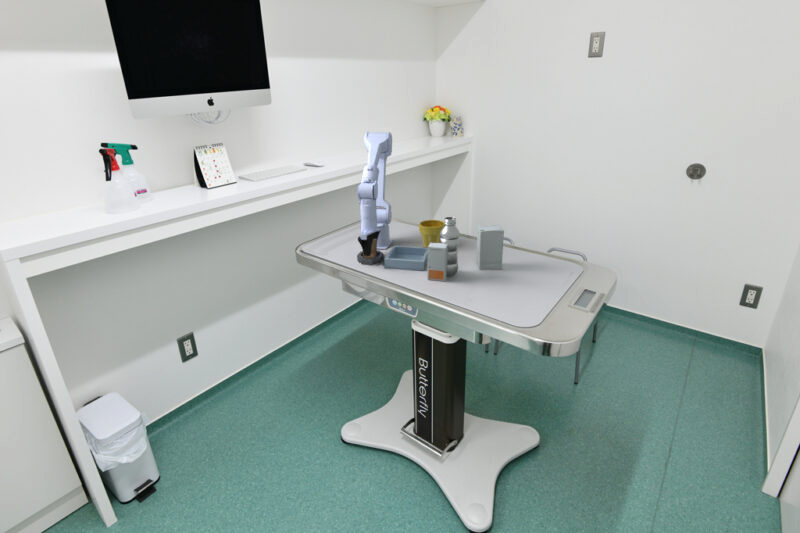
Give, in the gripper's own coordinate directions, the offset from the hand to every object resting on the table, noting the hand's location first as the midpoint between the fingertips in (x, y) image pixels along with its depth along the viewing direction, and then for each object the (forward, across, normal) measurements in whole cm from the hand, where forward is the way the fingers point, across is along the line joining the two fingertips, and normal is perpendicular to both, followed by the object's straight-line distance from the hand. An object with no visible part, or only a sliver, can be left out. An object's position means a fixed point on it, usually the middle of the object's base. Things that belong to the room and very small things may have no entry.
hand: (370, 251), depth 167 cm
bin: (+3, +1, -14) cm, 14 cm away
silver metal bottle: (+4, -8, -30) cm, 31 cm away
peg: (+3, 0, 0) cm, 3 cm away
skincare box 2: (+4, +2, -43) cm, 43 cm away
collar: (+3, 0, 0) cm, 3 cm away
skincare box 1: (+4, -11, -27) cm, 29 cm away
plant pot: (+4, +19, -20) cm, 28 cm away
